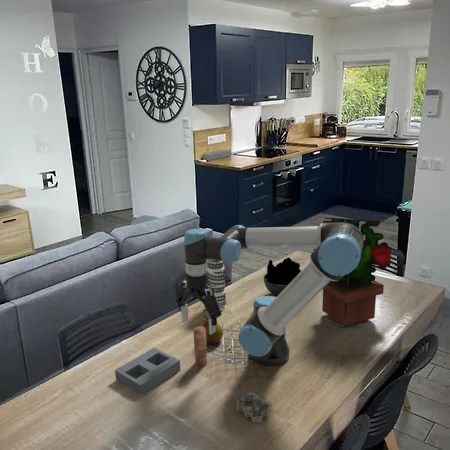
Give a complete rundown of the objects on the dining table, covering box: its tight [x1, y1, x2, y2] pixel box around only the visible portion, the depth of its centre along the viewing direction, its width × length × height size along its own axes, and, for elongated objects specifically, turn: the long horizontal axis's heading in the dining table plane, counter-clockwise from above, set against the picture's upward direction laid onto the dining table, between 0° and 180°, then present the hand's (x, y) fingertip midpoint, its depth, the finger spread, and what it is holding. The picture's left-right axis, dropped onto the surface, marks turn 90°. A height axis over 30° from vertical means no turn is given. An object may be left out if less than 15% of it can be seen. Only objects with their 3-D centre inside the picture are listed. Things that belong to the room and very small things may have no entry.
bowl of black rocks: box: [263, 257, 302, 297], centre depth 219 cm, size 20×20×19 cm
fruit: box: [201, 315, 224, 346], centre depth 183 cm, size 9×9×12 cm
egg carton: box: [233, 392, 272, 423], centre depth 143 cm, size 11×8×4 cm
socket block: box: [114, 347, 181, 396], centre depth 163 cm, size 14×18×4 cm
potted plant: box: [313, 214, 392, 328], centre depth 193 cm, size 22×22×45 cm
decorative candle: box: [206, 259, 227, 311], centre depth 209 cm, size 9×9×25 cm
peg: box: [193, 326, 208, 367], centre depth 168 cm, size 4×4×14 cm
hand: (198, 326), depth 166 cm, fingers open, 13 cm apart
